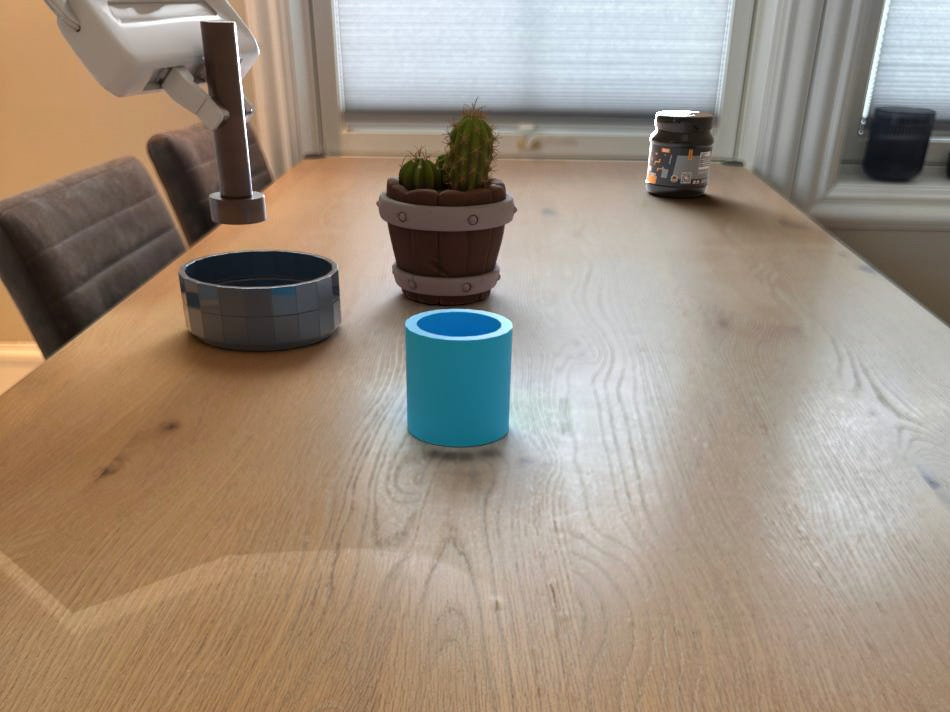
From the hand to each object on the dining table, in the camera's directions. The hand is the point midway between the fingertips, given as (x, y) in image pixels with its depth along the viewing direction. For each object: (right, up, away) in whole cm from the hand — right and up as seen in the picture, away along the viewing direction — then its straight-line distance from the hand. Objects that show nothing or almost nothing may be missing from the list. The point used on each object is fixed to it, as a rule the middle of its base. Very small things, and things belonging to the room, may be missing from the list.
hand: (234, 121), depth 83 cm
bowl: (-1, -13, +16) cm, 20 cm away
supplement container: (+54, +32, +84) cm, 105 cm away
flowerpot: (+17, -5, +28) cm, 33 cm away
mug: (+19, -26, -3) cm, 32 cm away
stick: (-1, -6, +5) cm, 8 cm away
